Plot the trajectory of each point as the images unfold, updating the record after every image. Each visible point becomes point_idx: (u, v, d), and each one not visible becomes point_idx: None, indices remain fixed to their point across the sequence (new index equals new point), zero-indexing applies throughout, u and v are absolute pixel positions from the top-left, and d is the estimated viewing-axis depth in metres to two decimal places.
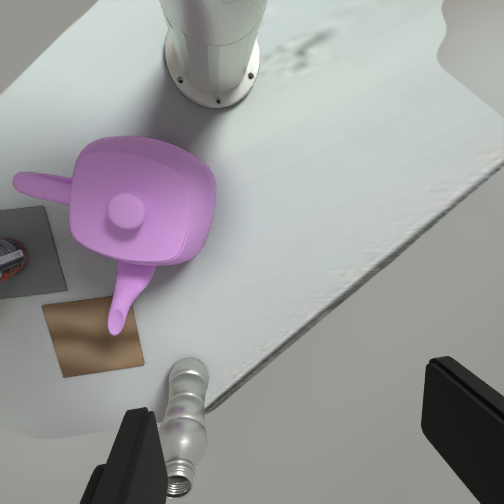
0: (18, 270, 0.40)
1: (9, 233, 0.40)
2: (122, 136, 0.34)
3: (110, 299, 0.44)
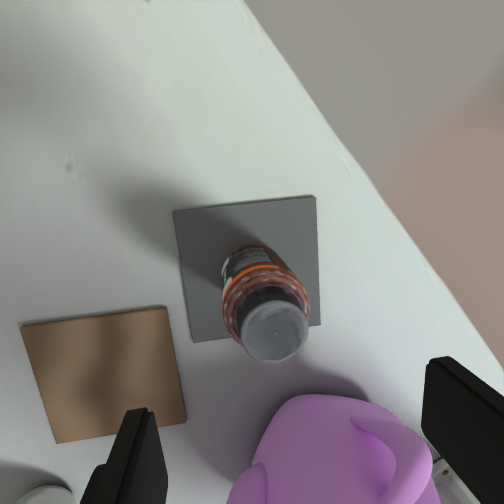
0: None
1: None
2: None
3: (178, 400, 0.29)
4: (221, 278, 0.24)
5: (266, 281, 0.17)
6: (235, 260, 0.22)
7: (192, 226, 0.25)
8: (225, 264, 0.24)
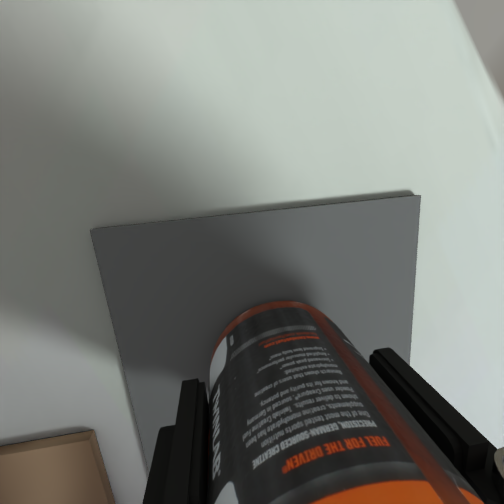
0: None
1: None
2: None
3: None
4: None
5: None
6: (246, 377, 0.08)
7: (140, 264, 0.11)
8: (218, 362, 0.10)
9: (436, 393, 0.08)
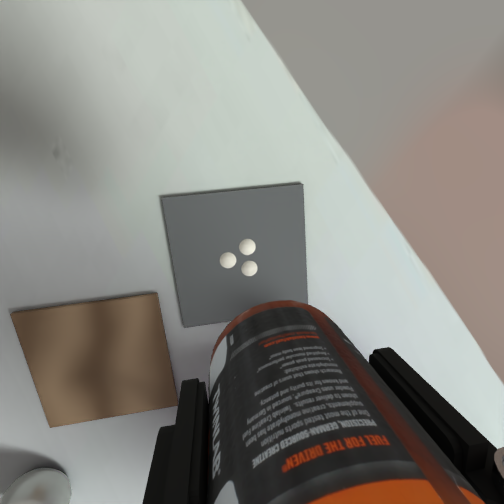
0: None
1: (273, 265, 0.28)
2: None
3: (170, 384, 0.30)
4: None
5: None
6: (246, 376, 0.08)
7: (181, 213, 0.25)
8: (218, 361, 0.10)
9: (436, 393, 0.08)
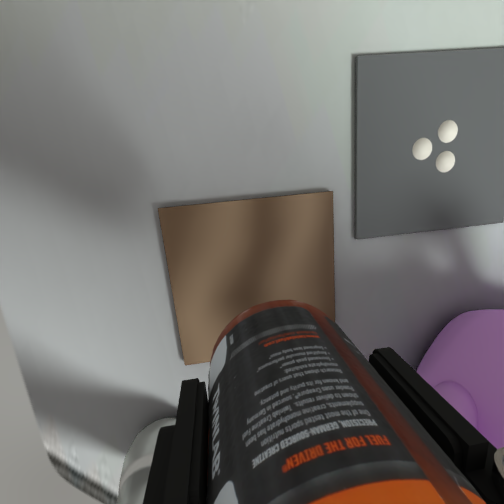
0: None
1: (473, 158, 0.22)
2: None
3: (331, 313, 0.24)
4: None
5: None
6: (246, 375, 0.08)
7: (378, 78, 0.20)
8: (218, 361, 0.10)
9: (436, 393, 0.08)
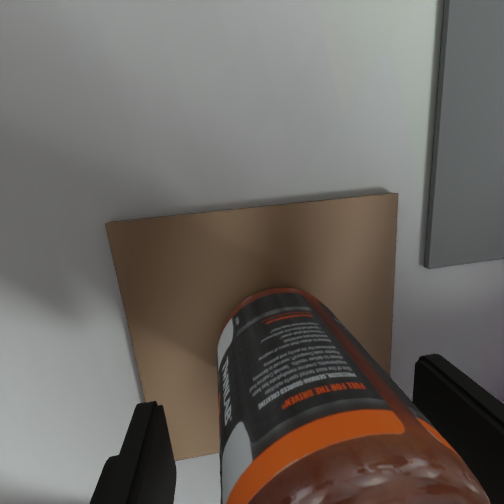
0: None
1: None
2: None
3: None
4: (217, 368, 0.11)
5: None
6: (251, 347, 0.09)
7: (483, 0, 0.12)
8: (225, 339, 0.11)
9: (502, 405, 0.07)
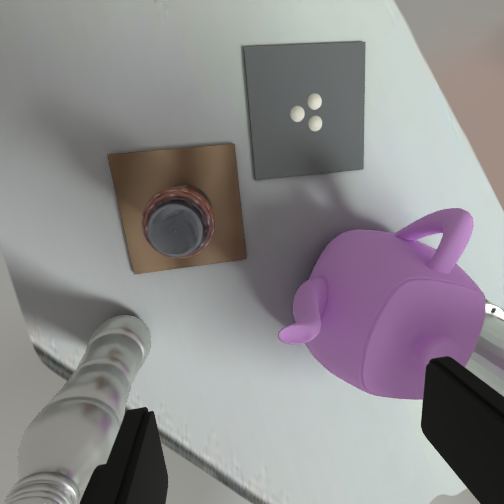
0: None
1: (335, 121, 0.31)
2: None
3: (241, 236, 0.33)
4: None
5: (173, 196, 0.22)
6: None
7: (260, 63, 0.29)
8: None
9: None
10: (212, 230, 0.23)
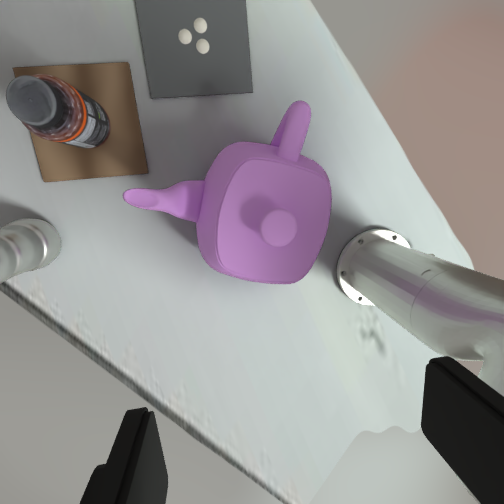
0: None
1: (222, 45, 0.35)
2: None
3: (141, 150, 0.37)
4: None
5: (38, 78, 0.26)
6: None
7: None
8: None
9: None
10: (78, 114, 0.27)
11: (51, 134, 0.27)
